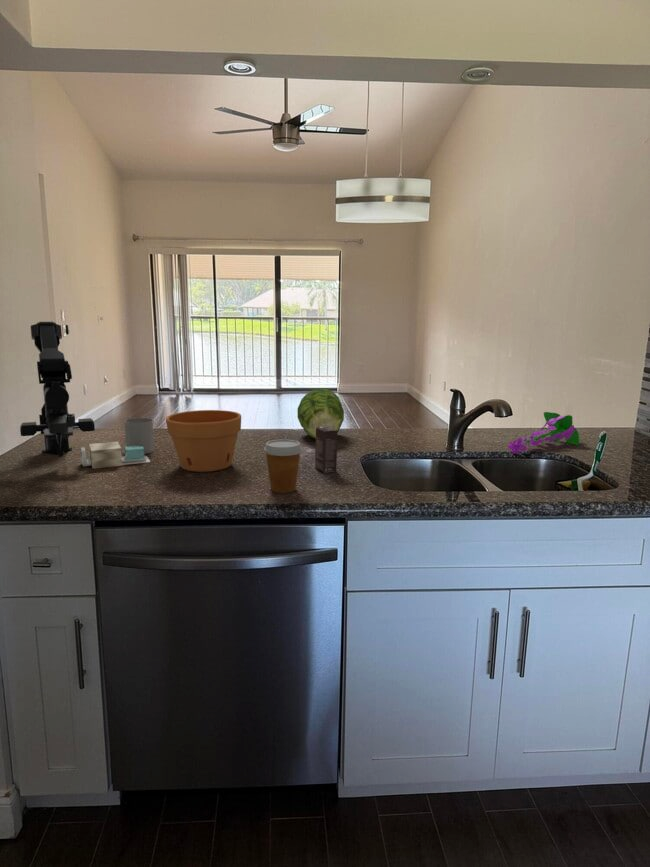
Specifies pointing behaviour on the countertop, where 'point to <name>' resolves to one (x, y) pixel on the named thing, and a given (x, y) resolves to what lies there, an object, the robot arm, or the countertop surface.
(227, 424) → the flower pot
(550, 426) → the purple flower
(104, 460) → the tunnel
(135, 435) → the cup
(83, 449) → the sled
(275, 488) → the disposable coffee cup
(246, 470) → the countertop surface
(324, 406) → the lettuce
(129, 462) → the pad
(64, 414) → the robot arm
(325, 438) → the box
